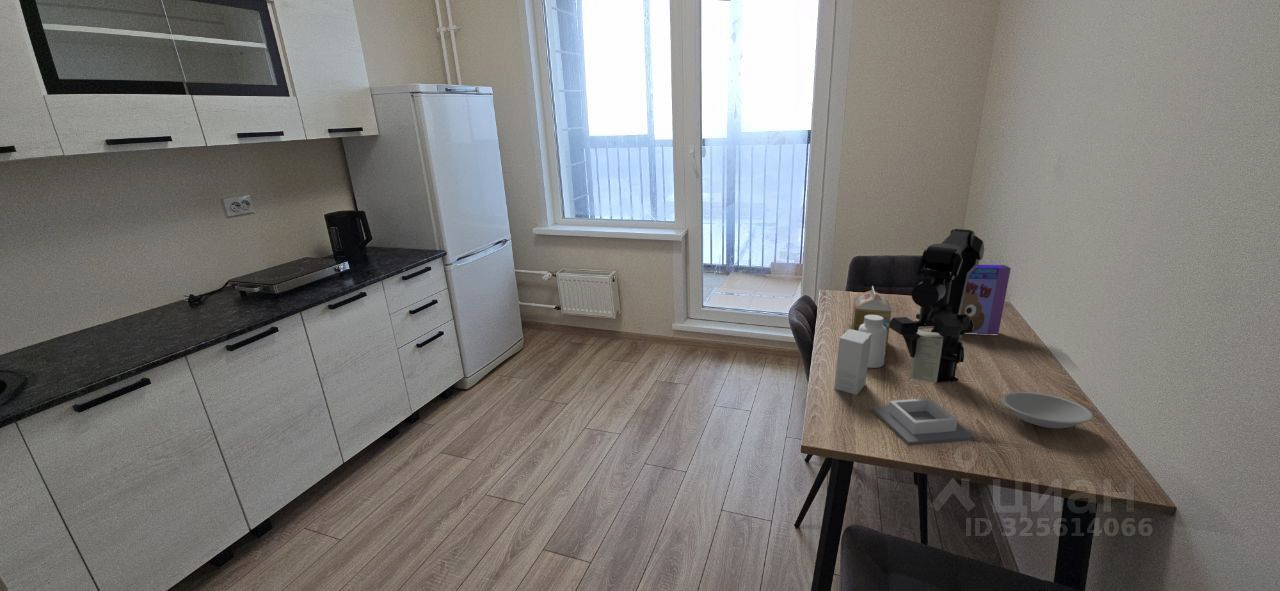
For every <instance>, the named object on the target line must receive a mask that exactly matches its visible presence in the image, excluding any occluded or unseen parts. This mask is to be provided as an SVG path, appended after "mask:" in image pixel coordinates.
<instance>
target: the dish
mask: <svg viewBox="0 0 1280 591" xmlns="http://www.w3.org/2000/svg"><path fill="white" fill-rule="evenodd" d="M1000 400H1001V403H1002V404H1003V406H1005V407H1006V408H1007V409H1008V410H1009V411H1010V412H1011V413H1012V414H1013V415H1015V416H1016V417H1017V418H1019V419H1020V420H1022V421H1024V422H1026V423H1028V424H1031V425H1035V426H1039V427H1042V428H1047V429H1048V428H1049V429H1066V428H1071V427H1074V426H1075V427H1076V426H1078V425H1080V424H1084V423H1088V422H1090V421H1091V420H1092V419H1093V418H1094V417H1093V413H1092V412H1091V410H1089V409H1088V408H1087V407H1085V406H1083V405H1081V404H1079V403H1077V402H1074V401H1072V400H1070V399H1066V398H1062V397H1059V396H1055V395H1051V394H1045V393H1041V392H1029V391H1014V392H1013V391H1012V392H1009V393H1005V394H1003V395H1002V396H1001V398H1000Z"/></svg>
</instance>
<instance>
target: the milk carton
mask: <svg viewBox="0 0 1280 591" xmlns="http://www.w3.org/2000/svg"><path fill="white" fill-rule="evenodd" d="M852 304H853V307H852V315H851V316H852V317H851V325H850V329H852V330H857V331H858V330H859V327H860V325H862V324H864V317H865V316H866V315H878V316H881V317H883V318H884V321H883V326H884V327H886V329H887V339H886V348H885V353H888V352H887V351H888V342H889V334H890V328H889V326H890V321H891V319H892V318H891V317H892V309H891V306H890V302H889V300H888V299H887V298H886V297H885V296H884V295H882V294H881V293H879V292H878V291H875V288H874V285H872V286H871V290H868V291H865V292H862V293H861V294H859V295H857V296H855V298H853V303H852Z"/></svg>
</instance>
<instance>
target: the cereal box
mask: <svg viewBox="0 0 1280 591" xmlns="http://www.w3.org/2000/svg"><path fill="white" fill-rule="evenodd" d="M950 273H951V272H950ZM1010 274H1011V267H1010V266H1008V265H1005V264H978V266H977V267H976V268H975V269H974V270H973V271H972V272H971V273H970V274H969V278H968V282H967V287H966V291H965V296H964V300H963V305H962V309H961V314H967V315H968V316H969V317H970V320H972V321H973V324H974V328H973V332H964V333H977V334H998V335H999V332H1000V327H1001V323H1002V318H1003V311H1004V306H1005V301H1006V295H1007V290H1008V289H1007V288H1008V285H1009V279H1010Z"/></svg>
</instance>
